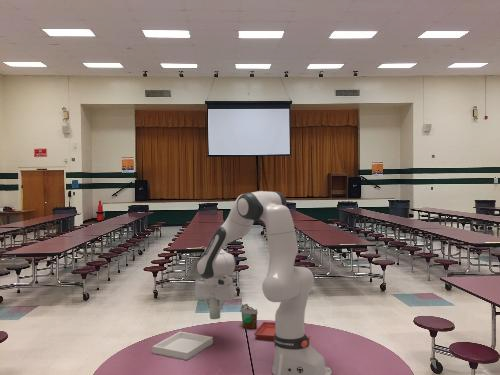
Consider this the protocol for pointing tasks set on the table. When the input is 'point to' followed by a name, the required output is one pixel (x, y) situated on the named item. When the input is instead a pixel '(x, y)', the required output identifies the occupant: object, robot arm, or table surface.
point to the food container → (249, 317)
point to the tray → (182, 345)
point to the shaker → (214, 307)
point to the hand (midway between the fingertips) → (214, 308)
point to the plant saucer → (266, 331)
